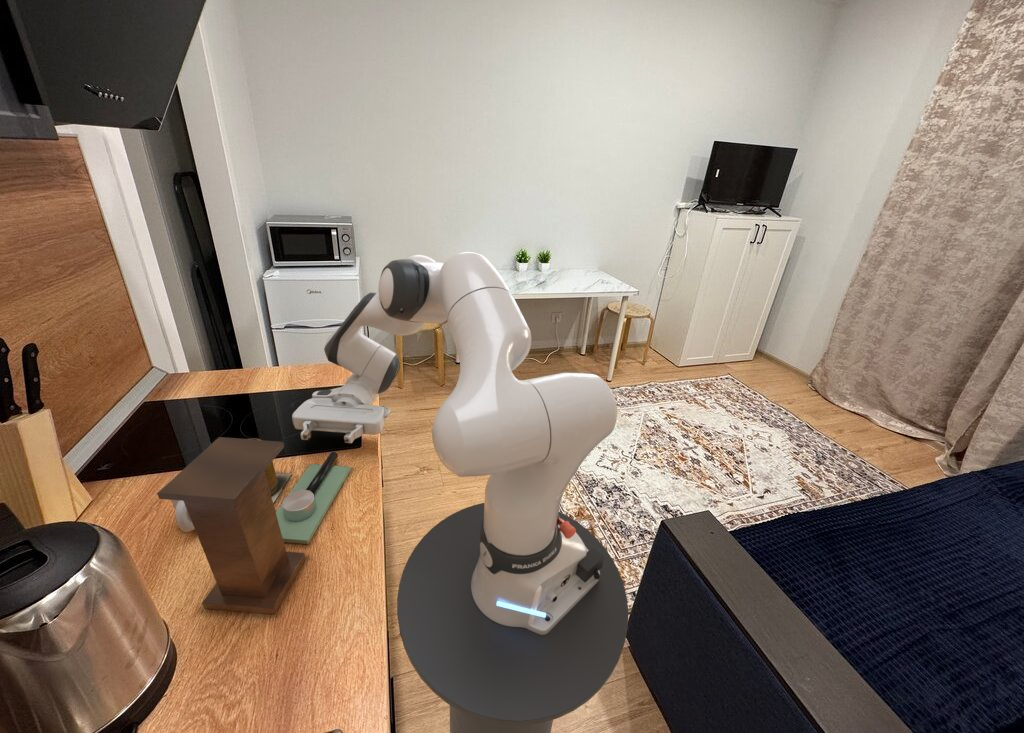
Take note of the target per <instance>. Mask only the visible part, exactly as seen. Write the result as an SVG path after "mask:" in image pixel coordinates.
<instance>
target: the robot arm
mask: <svg viewBox="0 0 1024 733" xmlns="http://www.w3.org/2000/svg"><path fill="white" fill-rule="evenodd" d="M377 290H378V292H369V293H367V294H365V295H364V296H363V297H362V298H361V299H360V300H359V302H358V303H357V304H356V305H355V306H354V308H353V309H352V310H351V311H350V313H349V314H348V315H347V317H346V318H345V320H344V321H343V322H342V324H340V325H339V327H338V328H337V329H335V330H334V331H333V332H332V333H331V334H330V335H329V336H328V338H327V340H326V342H325V344H324V348H323V350H324V354H325V357H326V360H327V361H328V362H330V363H331V364H334V365H336V366H338V367H341V368H343V369H345V370H347V371H349V372H350V373H352V374H351V375H350V376H349V377H348V378H347V379H346V380H345V383H344V384H343V385H341V387H340V386H339V387H336V388H331V389H324V390H316V391H313V393H311V398H309V399H307V400H305V401H304V402H302V403H301V404H300V405H299V406H298V407H297V409H295V410H294V412H293V413H292V415H291V420H292V425H293V427H294V429H296V430H301V432H300V439H301V440H302V441H309V440H310V439H311V438H312V437H313V434H312V431H315V432H328V433H329V432H330V433H343V434H345V435H344V436H343V440H344V443H345V444H353V442H354V441H355V440H356V439H358V438H360V437H362V436H363V435H370V436H377V435H379V434H381V433H382V431H383V429H384V426H385V422H386V419H387V418H388V417H389V416H390V415H391V409H390V408H387V406H385V405H375V404H373V403H374V402H375V401H376V400H377V399H378V397H379V395H381V394H382V393H385V392H386V391H388V389H389V388H390V386H391V385H392V384H393V382H394V380H395V378H397V375H398V373H399V371H400V368H401V362H400V358H399V355H398V354H397V353H396V352H394V351H393V350H391V349H389V348H387V346H384V345H382V344H380V343H379V342H377V341H376V340H373V339H372V338H370V337H369V336H366V335H365V334H364V333H362V332H361V331H360V330H361V329H362V327H368V328H369V327H370V328H374V329H377V330H380V331H382V332H385V333H388V334H390V335H395V336H411V335H414V334H416V333H418V332H420V331H421V330H422V329H423V328H424V327H425V326H426V325H427V324H435V325H441V326H448V328H449V331H450V334H451V336H452V339H453V342H454V345H455V348H456V353H457V356H458V361H459V375H458V379H457V381H456V385H455V386H454V388H453V390H452V391H451V393H450V395H449V396H448V397H447V398H446V399H445V400H444V401H443V402H442V403H441V405H439V408H438V410H437V411H436V414H435V416H434V419H433V423H432V429H431V438H432V445H433V448H434V451H435V453H436V456H437V458H438V459H439V461H440V462H441V464H442V465H443V466H444V467H445V468H446V469H447V470H448V471H449V472H451V473H452V474H453V475H454V476H456V477H459V478H468V477H484V476H488V479H487V482H486V484H485V488H484V502H483V503H484V515H483V518H482V521H481V529H480V556H479V560H478V563H477V565H476V568H475V570H474V572H473V575H472V580H471V591H472V595H473V598H474V601H475V603H476V605H477V606H478V608H479V609H480V610H481V612H482V613H483V614H484V615H486V616H487V617H488V618H489V619H491V620H493V621H494V622H496V623H499V624H502V625H505V626H510V627H523V628H527V629H529V630H531V631H533V632H535V633H537V634H541V635H545V634H547V633H548V632H549V631H550V630H551V629H552V628H553V627H554V626H555V625H556V624H557V623H558V622H559V621H560V620H561V619H562V618H563V617H564V616H565V615H566V614H567V613H568V612H569V611H570V610H571V609H572V608H573V607H574V606H575V605H576V604H577V603H578V602H579V601H580V600H581V599H582V598H583V596H584V595H585V594H586V593H587V592H588V591H589V590H590V589H591V588H592V587H593V586H594V585H595V584H596V583H597V582H598V581H599V579H600V573H599V570H600V569H601V568H602V566H603V561H604V557H605V556H604V555H603V554H602V553H601V552H599V551H598V550H597V549H596V548H595V547H592V548H591V549H590V550H588V549H587V548H586V547H585V545H584V543H583V541H582V540H581V538H580V537H579V535H578V534H577V533H576V529H575V528H574V527H573V526H572V525H570V523H569V521H564V520H562V519H561V518H560V515H559V514H558V511H559V510H560V506H561V502H562V498H563V496H564V494H565V492H566V489H567V487H568V486H569V484H570V482H571V481H572V479H573V477H574V476H575V474H576V472H577V471H578V469H579V468H580V466H582V464H583V462H584V461H585V459H586V458H587V457H588V456H589V454H591V453H592V451H593V450H594V449H595V448H596V447H597V446H598V445H599V444H600V443H602V441H604V440H605V439H606V438H608V437H609V436H610V435H611V434H612V433H613V431H614V429H615V427H616V423H617V420H618V404H617V400H616V397H615V395H614V392H613V390H612V389H611V388H610V386H609V384H608V383H607V382H606V381H605V380H604V379H603V378H602V377H600V376H599V375H597V374H595V373H585V372H559V373H555V374H554V373H553V374H549V375H543V376H539V377H535V378H534V377H533V378H529V379H518V378H517V377H516V376H515V374H514V372H513V371H514V370H516V369H517V368H518V367H519V366H520V365H521V364H522V363H523V362H524V361H525V359H526V358H527V357H528V355H529V353H530V350H531V347H532V331H531V329H530V327H529V324H528V323H527V321H526V319H525V317H524V315H523V313H522V310H521V309H520V307H519V305H518V303H517V301H516V299H515V297H514V295H513V293H512V291H511V289H510V288H509V286H508V284H507V283H506V281H505V279H504V278H503V277H502V275H501V273H500V272H499V271H498V269H496V267H495V266H494V265H493V263H491V262H490V261H489V259H488V258H486V256H484V255H483V254H480V253H478V252H475V251H462V252H458V253H456V254H454V255H452V256H450V257H449V258H448V259H447V260H446V261H445V262H442V261H441V262H439V261H437V260H435V259H434V258H432V257H430V256H427V255H424V254H413V255H409V256H407V257H406V258H402V259H394V260H391V261H389V262H388V263H387V264H386V265H385V266H384V267H383V269H382V271H381V273H380V277H379V281H378V289H377ZM559 512H560V511H559ZM545 619H549V620H550V621H546V620H545Z"/></svg>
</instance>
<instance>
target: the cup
mask: <svg viewBox="0 0 1024 733" xmlns="http://www.w3.org/2000/svg"><path fill="white" fill-rule="evenodd" d="M170 501H171V503H172V506H173V508H174V510H175V512H174V516H175V517H174V518H175V523H176V525H177V527H178V529H179V530H180V531H182V532H184V533H189V532H192V531H195V528H194V526H193V523H192V521H191V518H190V516H189V513H188V511H187V509H186V506H185V504H184V501H181V500H170Z"/></svg>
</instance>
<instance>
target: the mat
mask: <svg viewBox="0 0 1024 733" xmlns="http://www.w3.org/2000/svg"><path fill="white" fill-rule="evenodd" d="M322 465H323V464H317V463H310V464H309V465H308V467H307V468H306V469H305V471H304V472H303V474H302V475H301V476H300V478H299V479H298V480H297V482H296V483H295V485H294V486H293V488H291V489H290V490H291V491H289V493H288V495H289V494H290V493H292V492H295V491H298V490H306V489H307V487H308V486H309V484H310V483H311V481H312V480H313V478H314V477H315V475H316V474H317V473H318V471H319V470H320V468H321V467H322ZM351 470H352V469H351V466H346V465H345V466H343V465H334V464H333V465H332V467H331V468H330V470H329V471H328V473H327V474H326V476H325V478H324V479H323V481H322V482H321V484H320V485H319V487H318V489H317V490H316V492H315V493H314V498H315V503H316V510H315V512H314V513H313V514H312V515H311V516H310V517H309V518H307V519H305V520H302V521H298V522H292V521H289V520H287V519H286V518H285V515H284V512H283V508H282V503H281V504H280V506H279V507H278V509H277V510H275V512H276V515H277V519H278V523H279V526H280V530H281V534H282V537H283V541H284V543H286V544H287V543H288V544H289V543H290V544H300V545H309V544H310V542H311V540H312V539H313V537H314V535H315V534H316V532H317V530H318V528H319V526H320V525H321V523H322V521H323V520H324V518H325V515H326V514H327V512H328V511H329V509H330V507H331V505H332V504H333V502H334V500H335V498H336V497H337V495H338V493H339V491H340V490H341V488H342V486H343V485H344V483H345V481H346V479H347V478H348V476H349V475H350V473H351Z"/></svg>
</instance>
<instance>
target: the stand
mask: <svg viewBox="0 0 1024 733" xmlns="http://www.w3.org/2000/svg"><path fill="white" fill-rule="evenodd" d="M284 443H285V442H284V441H277V440H263V439H262V440H251V439H250V438H239V437H238V438H237V437H223V436H219V437H217V438H216V439H215V440H214V441H213V442H212V443H210V445H209V446H208V447H206V448H205V449H204V450H203V451H202V452H201V453H200V454H198V455H197V456H196V457H195V458H194V459H193V460H192V461H191V462H190V463H189V464H188V465H186V466H185V467H184V468H183V469H182V470H181V471H180V472H178V474H176V476H174V477H173V478H172V479H171V480H169V482H167V483H166V484H165V485H164V486H163V487H162V488H161V489H160V490H159V491H158V492H156V495H157V497H158V499H159V500H170V501H171V500H181V501H184V504H185V506H186V509H187V511H188V513H189V516H190V518H191V521H192V523H193V526H194V528H195V530H194V531H195V533H196V536H197V538H198V541H199V543H200V545H201V548H202V550H203V553H204V555H205V558H206V560H207V563H208V565H209V568H210V570H211V572H212V576H213V578H214V580H215V584H214V586H213V587H212V588H211V590H210V591H209V593H208V594H207V595H206V596H205V598H204V599H203V601H202V602H201V604H202V606H203V609H205V610H215V611H226V612H240V613H251V614H253V613H254V614H262V615H263V614H265V615H276V613H277V611H278V609H279V607H280V606H281V605H282V602H283V600H284V599H285V597H286V595H287V594H288V592H289V590H290V588H291V587H292V585H293V583H294V581H295V579H296V577H297V576H298V573H299V572H300V570H301V568H302V566H303V564H305V561H306V554H305V553H304V552H297V551H287V548H286V545H285V542H284V541H283V537H282V534H281V530H280V526H279V523H278V519H277V515H276V508H275V505H274V503H273V501H272V497H271V493H270V490H269V486H268V482H267V479H266V475H265V471H264V470H265V469H266V468H267V467H268V466H269V464H270V463H271V462H272V461H273V462H274V460H275V458H277V456H278V455H279V454H280V453H281V452H282V451H283V449H284V448H285V444H284Z"/></svg>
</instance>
